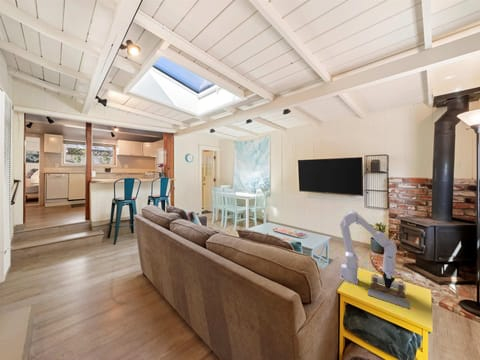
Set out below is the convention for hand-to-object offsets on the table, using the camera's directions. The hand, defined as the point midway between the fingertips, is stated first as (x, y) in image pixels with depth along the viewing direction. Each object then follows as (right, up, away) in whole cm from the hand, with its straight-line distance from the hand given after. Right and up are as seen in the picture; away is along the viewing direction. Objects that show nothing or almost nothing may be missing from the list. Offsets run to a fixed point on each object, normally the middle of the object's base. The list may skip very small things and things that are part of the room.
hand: (387, 285), depth 117 cm
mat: (-5, -4, -7) cm, 9 cm away
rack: (0, -3, 0) cm, 3 cm away
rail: (0, 0, 0) cm, 0 cm away
